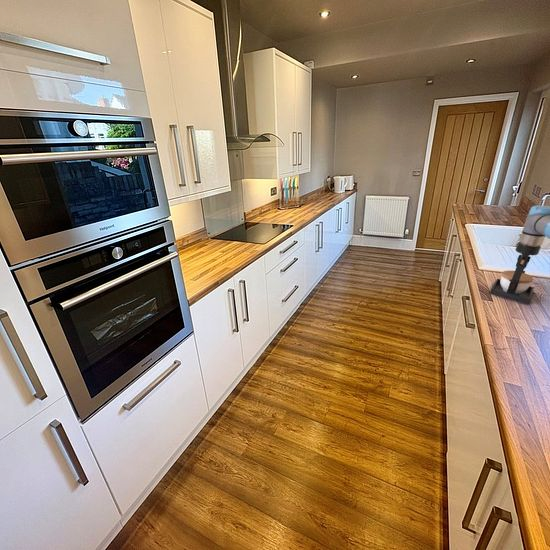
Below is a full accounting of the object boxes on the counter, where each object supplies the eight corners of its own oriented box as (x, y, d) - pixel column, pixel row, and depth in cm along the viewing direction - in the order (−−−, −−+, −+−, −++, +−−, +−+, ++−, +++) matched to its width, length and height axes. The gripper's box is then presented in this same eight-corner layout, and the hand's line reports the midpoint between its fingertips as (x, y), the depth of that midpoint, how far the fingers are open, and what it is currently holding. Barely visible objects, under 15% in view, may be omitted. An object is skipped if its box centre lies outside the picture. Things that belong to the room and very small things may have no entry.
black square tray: (532, 292, 131) (534, 287, 129) (528, 304, 122) (530, 299, 121) (495, 283, 139) (497, 278, 138) (489, 293, 130) (491, 288, 129)
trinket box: (501, 295, 127) (508, 275, 123) (493, 284, 136) (499, 265, 132) (531, 298, 124) (539, 278, 120) (520, 287, 133) (528, 268, 129)
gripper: (522, 235, 130) (506, 278, 140) (514, 249, 115) (496, 297, 125) (543, 238, 125) (525, 283, 135) (538, 253, 110) (518, 303, 120)
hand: (511, 290), depth 130 cm, fingers closed on trinket box, 11 cm apart
